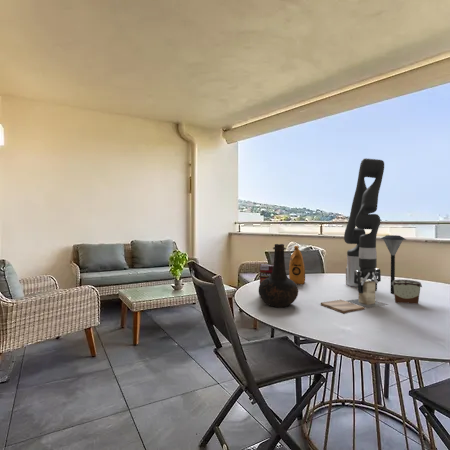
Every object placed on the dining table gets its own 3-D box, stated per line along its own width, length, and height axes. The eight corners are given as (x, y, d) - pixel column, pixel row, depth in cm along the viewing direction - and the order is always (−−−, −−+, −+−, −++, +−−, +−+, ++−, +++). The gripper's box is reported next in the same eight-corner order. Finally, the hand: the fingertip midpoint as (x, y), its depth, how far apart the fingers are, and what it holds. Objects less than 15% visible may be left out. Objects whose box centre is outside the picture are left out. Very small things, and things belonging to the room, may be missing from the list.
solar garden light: (379, 294, 165) (380, 236, 164) (379, 289, 176) (379, 234, 175) (406, 297, 160) (407, 236, 159) (405, 291, 171) (405, 235, 170)
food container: (418, 301, 153) (418, 280, 152) (421, 304, 147) (422, 282, 146) (389, 299, 157) (389, 278, 156) (391, 302, 151) (391, 281, 150)
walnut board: (320, 304, 148) (320, 302, 148) (340, 301, 153) (340, 299, 153) (343, 313, 135) (343, 310, 135) (364, 309, 140) (364, 307, 140)
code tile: (345, 301, 153) (345, 300, 153) (365, 298, 158) (365, 297, 158) (367, 308, 141) (367, 308, 141) (388, 304, 147) (388, 304, 147)
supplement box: (259, 296, 163) (259, 265, 162) (260, 294, 168) (260, 264, 167) (276, 297, 161) (276, 265, 161) (277, 295, 166) (277, 264, 165)
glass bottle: (252, 301, 154) (251, 243, 153) (283, 297, 161) (283, 241, 160) (271, 312, 137) (271, 246, 136) (306, 307, 144) (306, 244, 143)
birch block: (358, 301, 151) (358, 280, 151) (366, 300, 153) (366, 279, 153) (367, 304, 147) (367, 282, 146) (375, 303, 149) (375, 281, 148)
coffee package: (287, 283, 192) (287, 247, 192) (289, 279, 204) (289, 245, 204) (304, 284, 190) (304, 247, 189) (305, 280, 202) (305, 245, 201)
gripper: (372, 255, 155) (371, 289, 156) (349, 257, 150) (349, 292, 150) (385, 257, 149) (385, 292, 149) (362, 259, 143) (362, 295, 143)
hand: (367, 292), depth 149 cm, fingers open, 8 cm apart
